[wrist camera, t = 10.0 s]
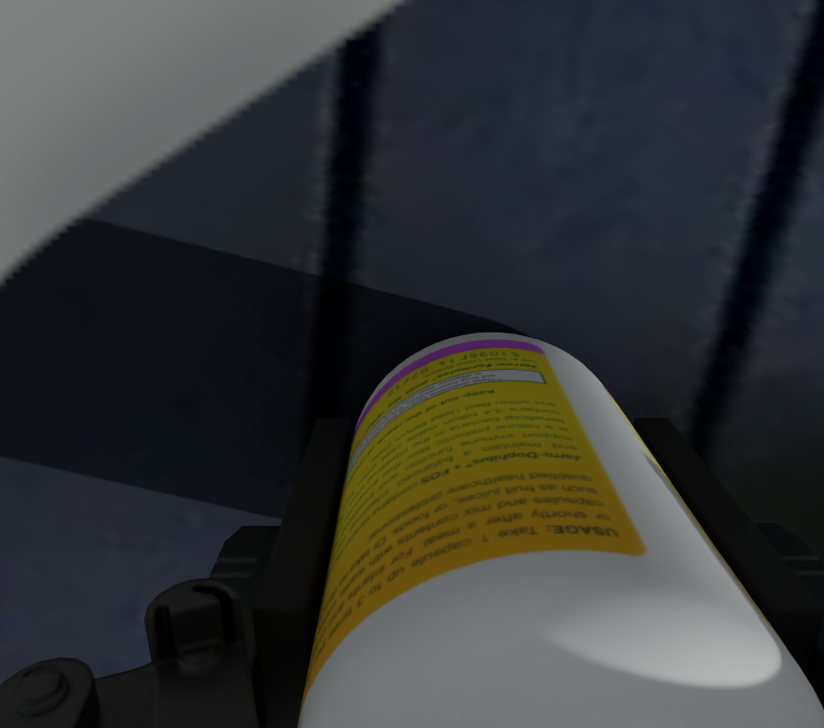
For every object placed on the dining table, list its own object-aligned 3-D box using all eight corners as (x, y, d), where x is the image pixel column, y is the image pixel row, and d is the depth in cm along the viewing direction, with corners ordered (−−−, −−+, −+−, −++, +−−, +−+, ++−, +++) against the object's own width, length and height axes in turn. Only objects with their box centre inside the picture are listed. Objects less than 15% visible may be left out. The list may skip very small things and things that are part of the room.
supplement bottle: (302, 477, 17) (34, 1299, 5) (458, 268, 15) (595, 801, 3) (508, 604, 19) (675, 1500, 7) (675, 424, 17) (1341, 1218, 5)
